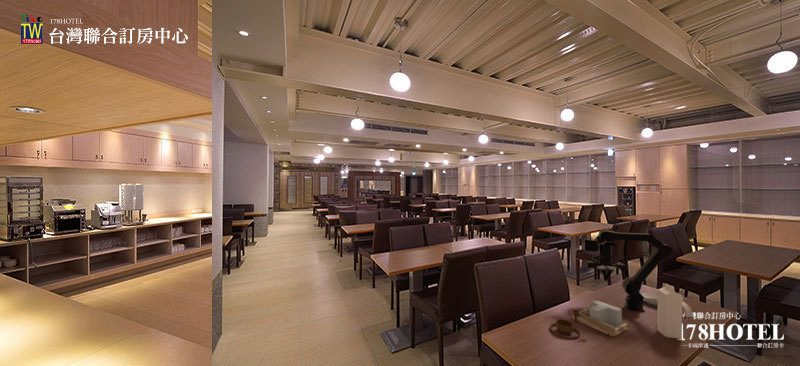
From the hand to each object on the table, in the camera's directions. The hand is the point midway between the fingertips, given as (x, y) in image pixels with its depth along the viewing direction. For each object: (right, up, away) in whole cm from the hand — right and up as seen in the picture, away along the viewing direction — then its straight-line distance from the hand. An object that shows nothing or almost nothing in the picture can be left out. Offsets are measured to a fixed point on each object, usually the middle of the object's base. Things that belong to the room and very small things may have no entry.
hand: (605, 280), depth 158 cm
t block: (-17, -13, -21) cm, 31 cm away
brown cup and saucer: (-36, -14, -28) cm, 48 cm away
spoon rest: (+30, -14, -4) cm, 33 cm away
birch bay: (-18, -13, -22) cm, 31 cm away
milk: (+6, -14, -31) cm, 34 cm away
